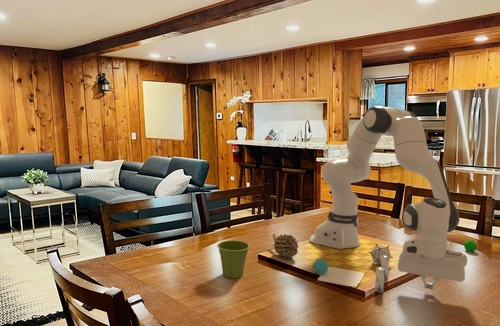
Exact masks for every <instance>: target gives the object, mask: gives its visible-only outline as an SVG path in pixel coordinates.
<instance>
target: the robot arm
mask: <svg viewBox="0 0 500 326" xmlns="http://www.w3.org/2000/svg"><path fill="white" fill-rule="evenodd" d="M353 130H354V131H352V134H351V136H350V138H349V139H348V141H347V143H346V148H347V151H348V155H347V156H346V157H345V158H338V159H333V160H330V161H327V162H325V163H324V164H323V166H322V168H321V176H322V179H323V180H324V182H326V183H327V185H328V186H329V188H330V191H331V194H332V196H331V197H332V209H331V210H329V212H328V213H327V219H326V220H324V221H323V222H322V223H320V224H319V225H318V226H317V227H316V229H315V232H314V234H311V236H310V238H309V242H310V243H312V244H314V245H315V244H316V245H320V246H326V247H328V248H329V247H330V248H334V249H338V250H340V249H341V250H342V249H349V248H350V249H351V248H357V247H358V246H360V244H361V243H360V241H359V235H358V232H359V231H358V227H359V213H358V207H359V206H358V204H359V203H358V202H359V198H358V195H357V194H356V193H354V192H353V190H352V186H351V184H352V183H359V182H362V181H364V180H366V179H368V178H369V177H370V175H371V171H372V168H371V165H370V163H369V162H370V158H371V155H372V154H373V151H374V150H375V148H376V147H377V145H378V143H379V142H380V140H381V138H382V136H386V137H392V138H393V142H394V153H395V158H396V161H397V163H398V164H399V165H400V166H401V167H402V168H404V169H405V170H407V171H409V172H411V173H414V174H417V175H419V176H421V177H423V178H424V179H426V181H428V182H429V184H430V188H431V192H432V195H433V197H425V198H424V199H422V200H421V201H420V202H416V203H415V202H414V203H409V204H407V205H406V206H405V207H404V208H403V211H402V217H401V219H402V224H403V225H404V226H405V228H406V229H408V230H409V231H413V232H417V233H418V236H417V239H412V240H411V239H410V240H406V241H404V242H403V245H402V250H401V251H400V255H399V258H398V262H397V270H398V271H399V272H401V273H407V274H413V275H419V276H421V278H420V279H421V280H422V282H423V284H424V287H423V288H424V289H425V290H427V289H428V290H432V291H433V290H434V291H435V285H437V283H438V282H439V279H443V280H446V281H447V280H448V281H454V282H461V283H462V282H463V281H465V279H466V273H465V271H466V270H465V267H466V266H467V263H468V257H467V255H466V254H464V253H463V252H460V251H453V250H447V241H448V237H447V236H448V235H447V234H448V233H452V232H453V231H454V230H455V229H456V228H457V226H458V225H459V223H460V214H459V211H458V209H457V207H456V205H455V203H454V201H453V199H452V195H451V193H450V189H449V187H448V183H447V180H446V177H445V174H444V171H443V169H442V167H441V164H440V163H439V161H438V160H437V159H436V158H434V156H433V155H432V154H431V152H430V150H429V148H428V143H427V142H428V141H427V138H426V133H425V130H424V127H423V124H422V122H421V120H420V119H419V118H418V116H417V115H416V114H415V113H414V112H412V111H410V110H407V109H406V110H404V109H401V108H398V107H391V106H390V107H389V106H382V105H377V106H375V105H374V106H372V107H369V108H368V109H367V110H366V112H365V114H364V115H363V116H362V118H361V119H360V120H359V121H358V123H357V125H356V126H355V129H353ZM427 277H429V278H433V281H432V282H430V281H427Z"/></svg>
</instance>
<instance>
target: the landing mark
mask: <svg viewBox="0 0 500 326" xmlns="http://www.w3.org/2000/svg"><path fill="white" fill-rule="evenodd" d="M364 276H365V272H361V271H356V270H352V269H351V270H349V269H343V268H339V267H338V268H337V267H334V266H328V270H327V272H326V273H324V274H320V275H319V277H318V278H317V281H320V282H325V283H331V284H335V285H341V286H346V287H350V286H351V287H350V288H355V287H354V286H357V285H358V283H360V284H361V282H362V280H363V278H364ZM360 281H361V282H360Z"/></svg>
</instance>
